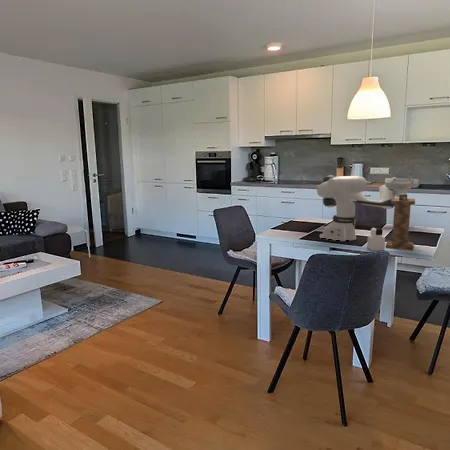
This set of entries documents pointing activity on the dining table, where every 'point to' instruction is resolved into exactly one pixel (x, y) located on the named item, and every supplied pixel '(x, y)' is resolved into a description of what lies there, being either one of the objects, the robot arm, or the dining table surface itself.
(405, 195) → the wooden wick
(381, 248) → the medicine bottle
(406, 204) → the walnut stand
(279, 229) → the dining table surface
